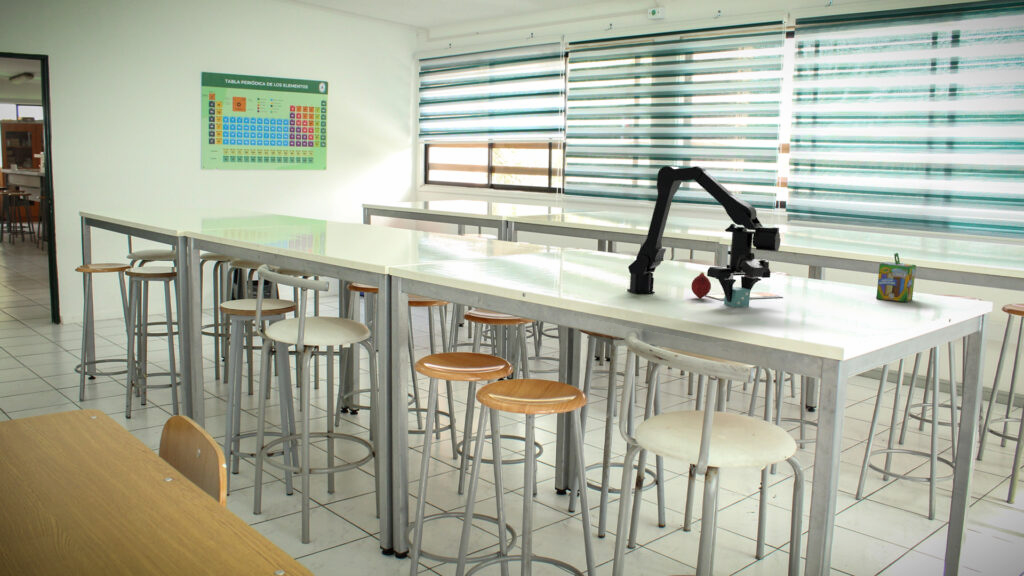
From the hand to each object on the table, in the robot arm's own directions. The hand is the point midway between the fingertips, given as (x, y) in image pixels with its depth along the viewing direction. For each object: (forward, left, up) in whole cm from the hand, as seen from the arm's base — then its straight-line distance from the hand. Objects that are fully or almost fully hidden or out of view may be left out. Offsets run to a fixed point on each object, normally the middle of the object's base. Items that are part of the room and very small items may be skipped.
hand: (736, 301), depth 231 cm
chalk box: (+61, -2, -1) cm, 61 cm away
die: (0, 0, -1) cm, 1 cm away
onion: (-4, +12, -1) cm, 13 cm away
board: (+12, +12, -1) cm, 17 cm away
